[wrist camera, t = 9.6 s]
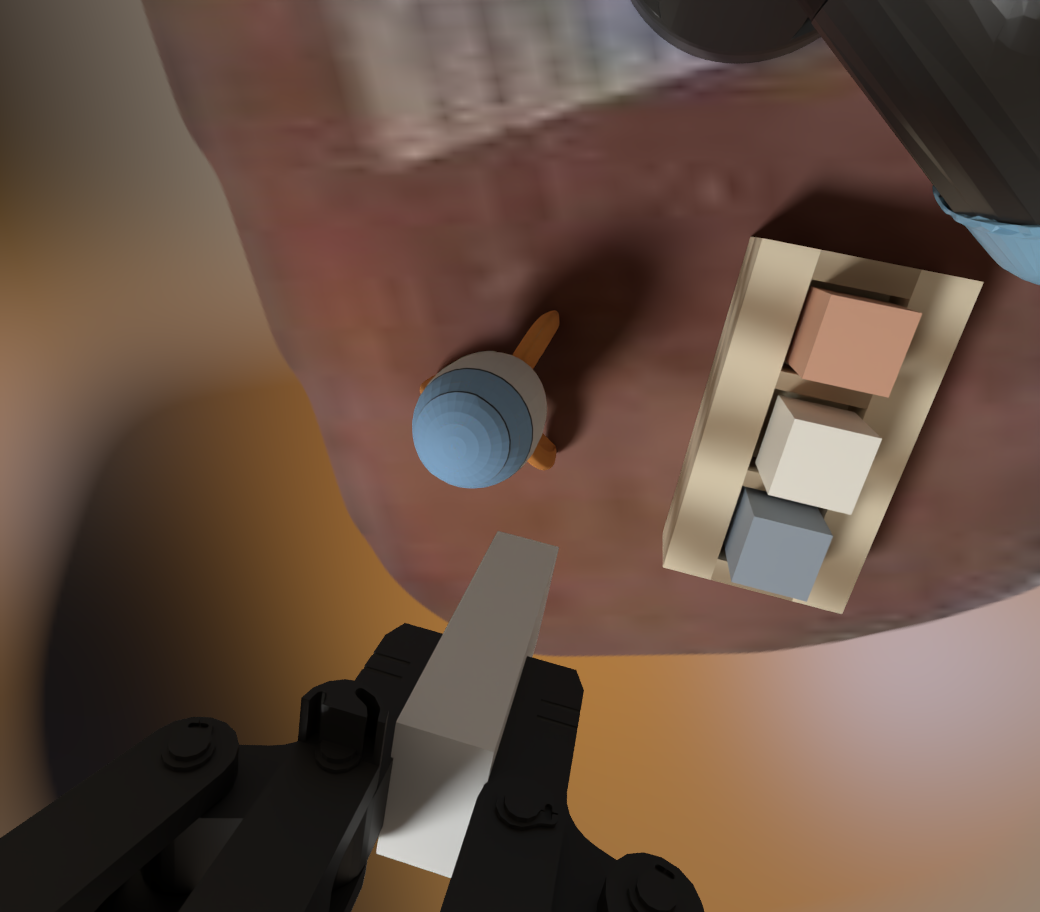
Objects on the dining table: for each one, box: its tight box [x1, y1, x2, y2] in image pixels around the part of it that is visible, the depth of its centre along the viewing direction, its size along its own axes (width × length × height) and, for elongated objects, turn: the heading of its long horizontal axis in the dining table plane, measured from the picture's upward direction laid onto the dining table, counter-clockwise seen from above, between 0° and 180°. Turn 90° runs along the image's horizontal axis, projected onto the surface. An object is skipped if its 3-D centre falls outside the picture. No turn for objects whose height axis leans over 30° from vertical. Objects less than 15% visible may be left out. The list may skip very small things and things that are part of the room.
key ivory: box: [755, 395, 882, 515], centre depth 36 cm, size 4×4×5 cm
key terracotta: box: [785, 286, 922, 398], centre depth 35 cm, size 4×4×5 cm
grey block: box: [724, 486, 833, 602], centre depth 39 cm, size 4×4×5 cm
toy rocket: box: [412, 310, 559, 488], centre depth 40 cm, size 10×11×15 cm
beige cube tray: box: [663, 237, 984, 614], centre depth 40 cm, size 20×11×5 cm, turn 169°
